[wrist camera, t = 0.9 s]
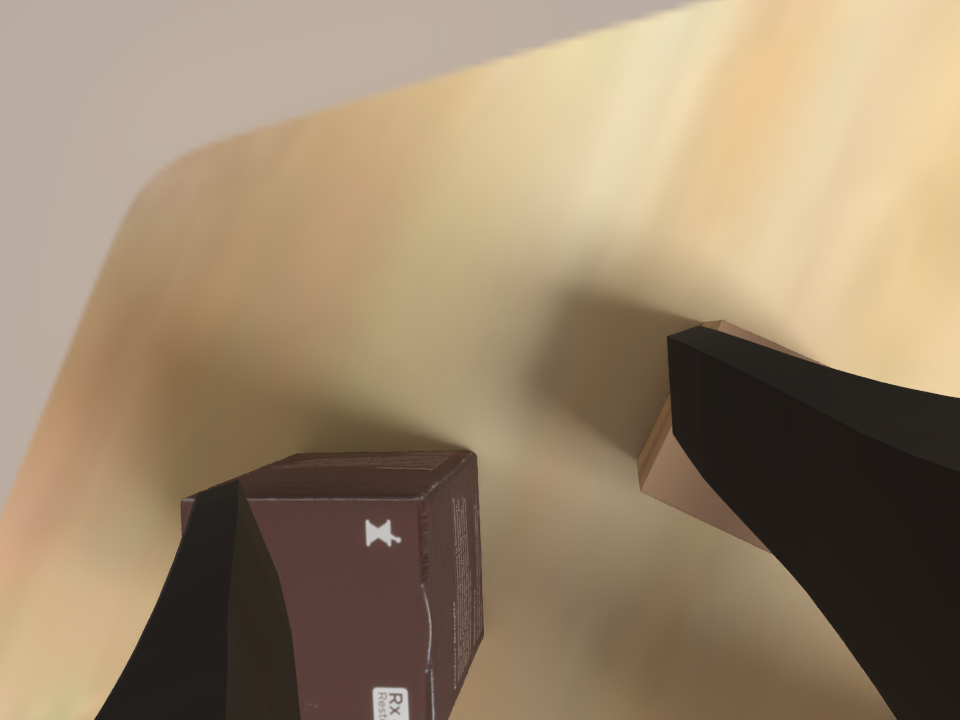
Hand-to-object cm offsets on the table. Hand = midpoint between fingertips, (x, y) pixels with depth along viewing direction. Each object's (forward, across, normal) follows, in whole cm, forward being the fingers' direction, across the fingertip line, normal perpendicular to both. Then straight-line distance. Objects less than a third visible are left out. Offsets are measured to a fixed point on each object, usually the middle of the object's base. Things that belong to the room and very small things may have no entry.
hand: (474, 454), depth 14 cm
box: (+10, +1, +10) cm, 14 cm away
